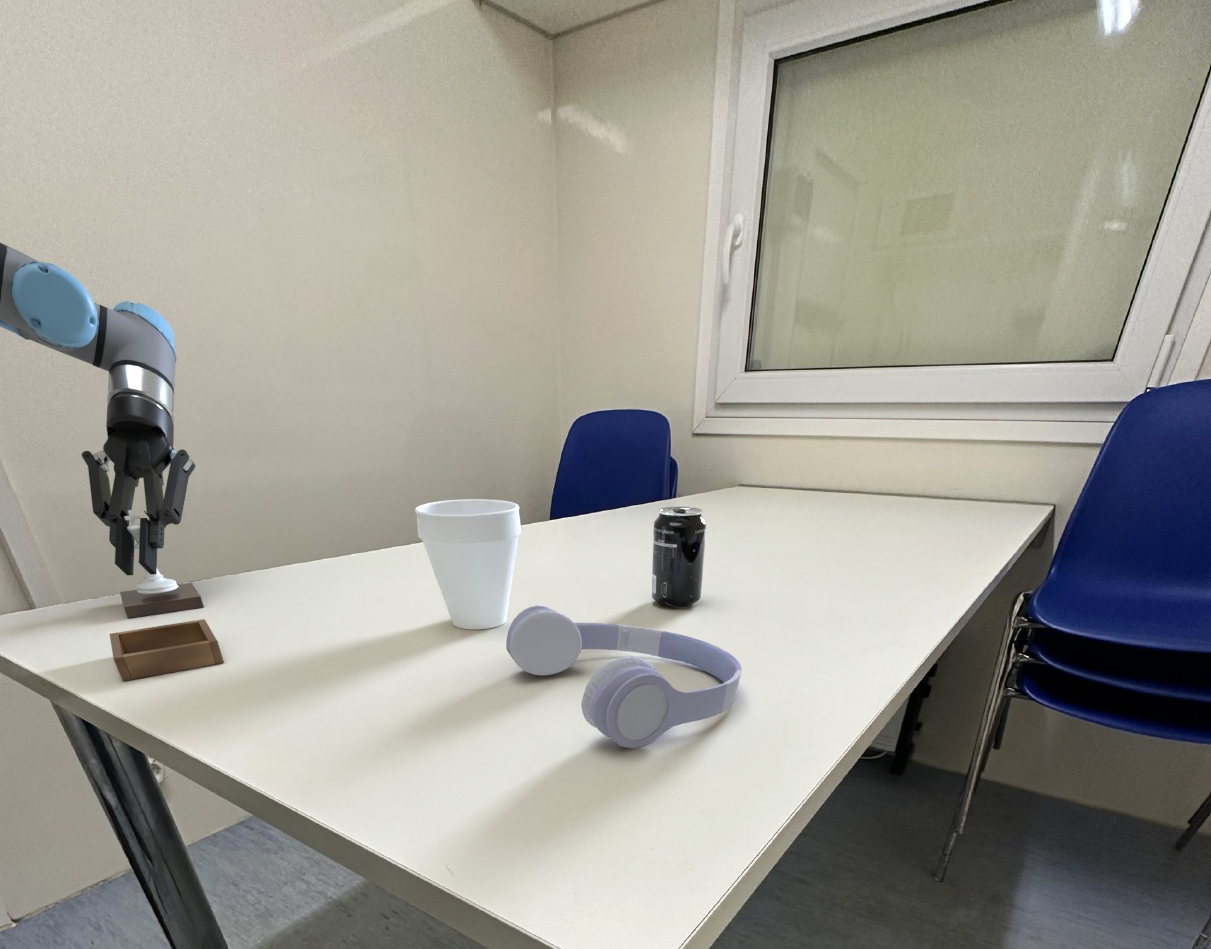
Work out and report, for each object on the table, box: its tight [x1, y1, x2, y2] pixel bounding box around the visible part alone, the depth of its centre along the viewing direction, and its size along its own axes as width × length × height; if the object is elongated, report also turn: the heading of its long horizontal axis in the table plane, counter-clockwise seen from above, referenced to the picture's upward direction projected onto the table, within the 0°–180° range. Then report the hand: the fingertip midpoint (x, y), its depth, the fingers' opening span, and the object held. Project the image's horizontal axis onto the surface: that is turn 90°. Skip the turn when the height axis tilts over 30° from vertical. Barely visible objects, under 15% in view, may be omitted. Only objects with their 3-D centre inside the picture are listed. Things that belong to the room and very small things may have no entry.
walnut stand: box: [119, 582, 205, 619], centre depth 93 cm, size 9×9×2 cm
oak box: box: [109, 618, 225, 682], centre depth 74 cm, size 10×10×2 cm
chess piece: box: [124, 509, 178, 594], centre depth 89 cm, size 5×5×10 cm
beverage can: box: [651, 506, 707, 609], centre depth 90 cm, size 7×7×12 cm
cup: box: [414, 498, 522, 631], centre depth 83 cm, size 12×12×14 cm
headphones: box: [505, 605, 743, 749], centre depth 65 cm, size 22×7×20 cm
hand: (136, 568), depth 87 cm, fingers closed on chess piece, 2 cm apart
